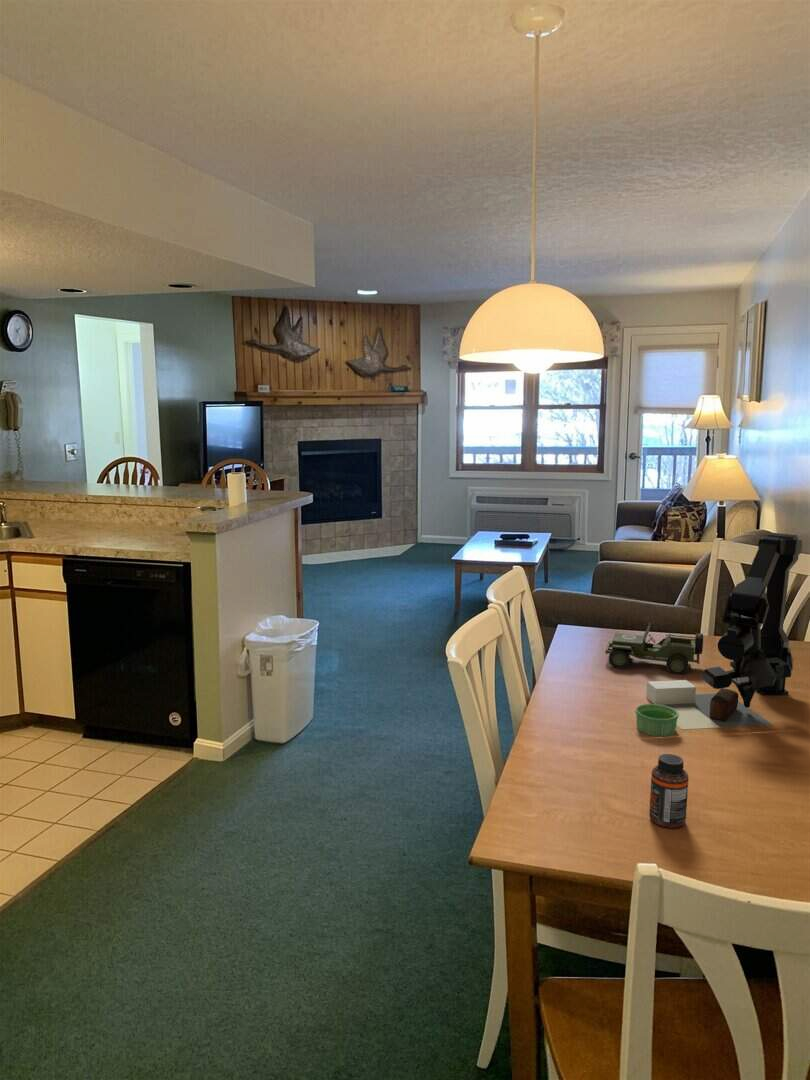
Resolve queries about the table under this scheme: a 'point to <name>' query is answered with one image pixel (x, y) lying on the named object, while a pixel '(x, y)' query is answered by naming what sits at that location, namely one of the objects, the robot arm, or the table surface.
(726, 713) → the brick
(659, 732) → the ramekin
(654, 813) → the supplement bottle
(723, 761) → the table surface
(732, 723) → the grey mat
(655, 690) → the block
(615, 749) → the table surface
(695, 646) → the toy jeep
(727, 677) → the robot arm
